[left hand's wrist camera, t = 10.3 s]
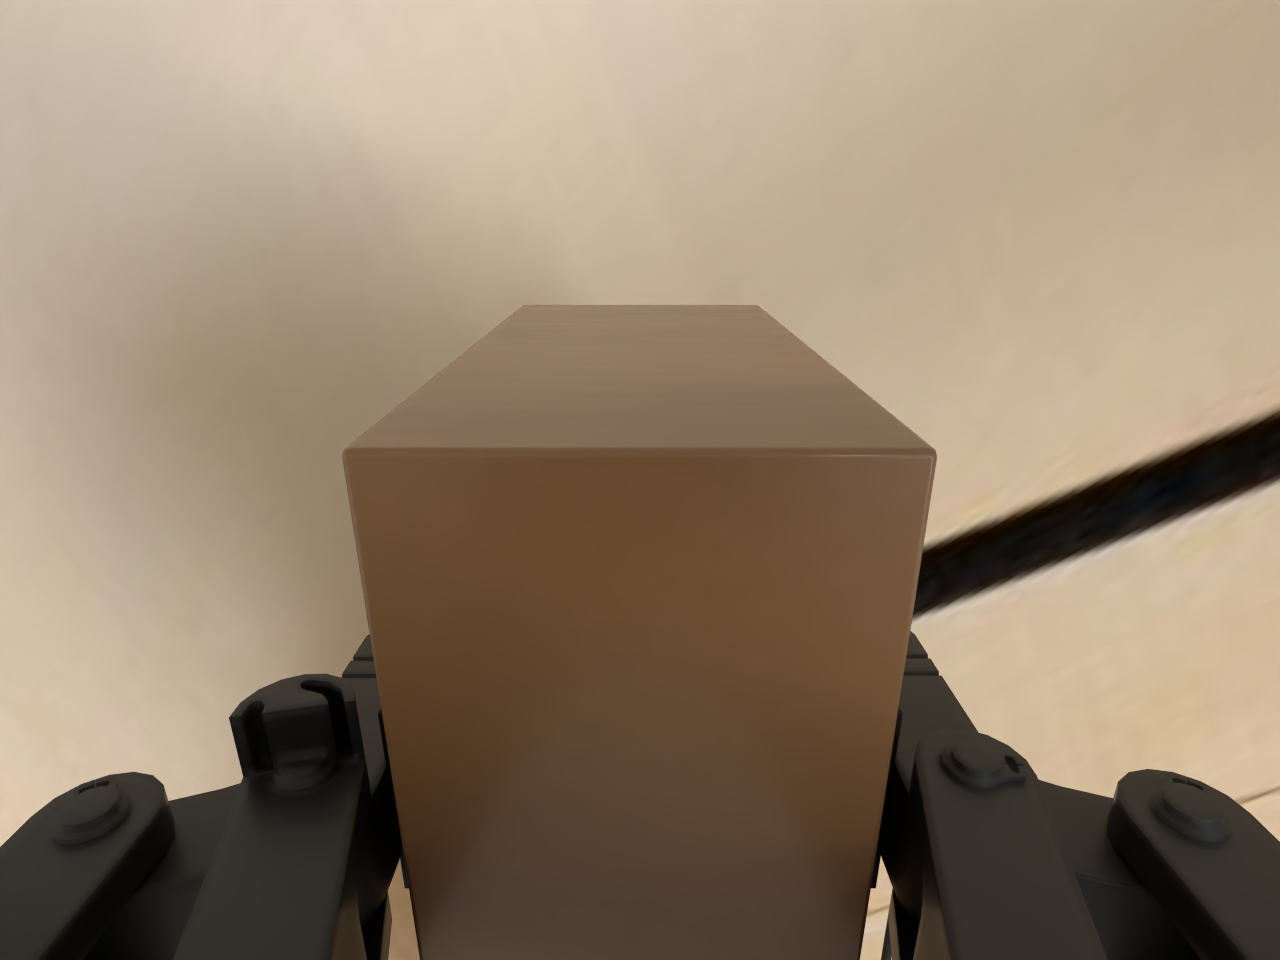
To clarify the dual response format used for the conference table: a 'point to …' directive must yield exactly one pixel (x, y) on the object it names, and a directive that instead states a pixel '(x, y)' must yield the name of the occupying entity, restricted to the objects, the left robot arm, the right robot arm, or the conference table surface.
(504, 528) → the beam
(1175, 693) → the conference table surface
